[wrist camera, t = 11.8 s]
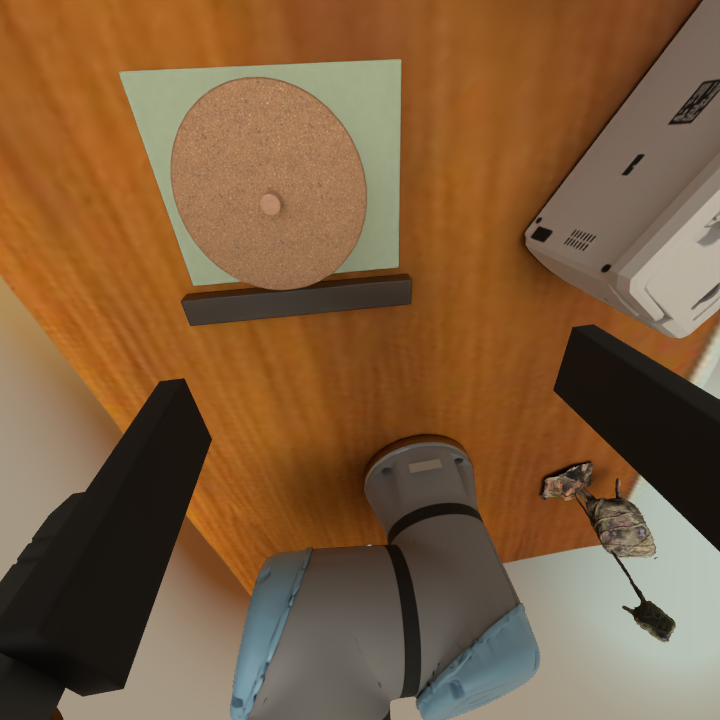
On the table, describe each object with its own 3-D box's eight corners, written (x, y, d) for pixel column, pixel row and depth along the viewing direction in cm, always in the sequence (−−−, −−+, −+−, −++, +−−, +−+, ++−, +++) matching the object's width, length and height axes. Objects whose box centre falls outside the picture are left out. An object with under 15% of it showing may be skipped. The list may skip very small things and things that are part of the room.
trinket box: (360, 247, 28) (379, 287, 20) (235, 266, 28) (205, 313, 20) (343, 86, 22) (360, 53, 14) (183, 107, 22) (110, 85, 14)
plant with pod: (595, 488, 55) (718, 637, 38) (532, 497, 54) (629, 653, 38) (614, 456, 51) (762, 608, 34) (545, 465, 50) (663, 626, 33)
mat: (397, 265, 30) (398, 267, 29) (194, 284, 28) (193, 286, 28) (399, 60, 22) (401, 58, 22) (121, 72, 21) (117, 71, 20)
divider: (407, 297, 32) (411, 304, 30) (195, 318, 30) (189, 326, 29) (407, 273, 30) (412, 279, 29) (186, 294, 29) (180, 301, 28)
